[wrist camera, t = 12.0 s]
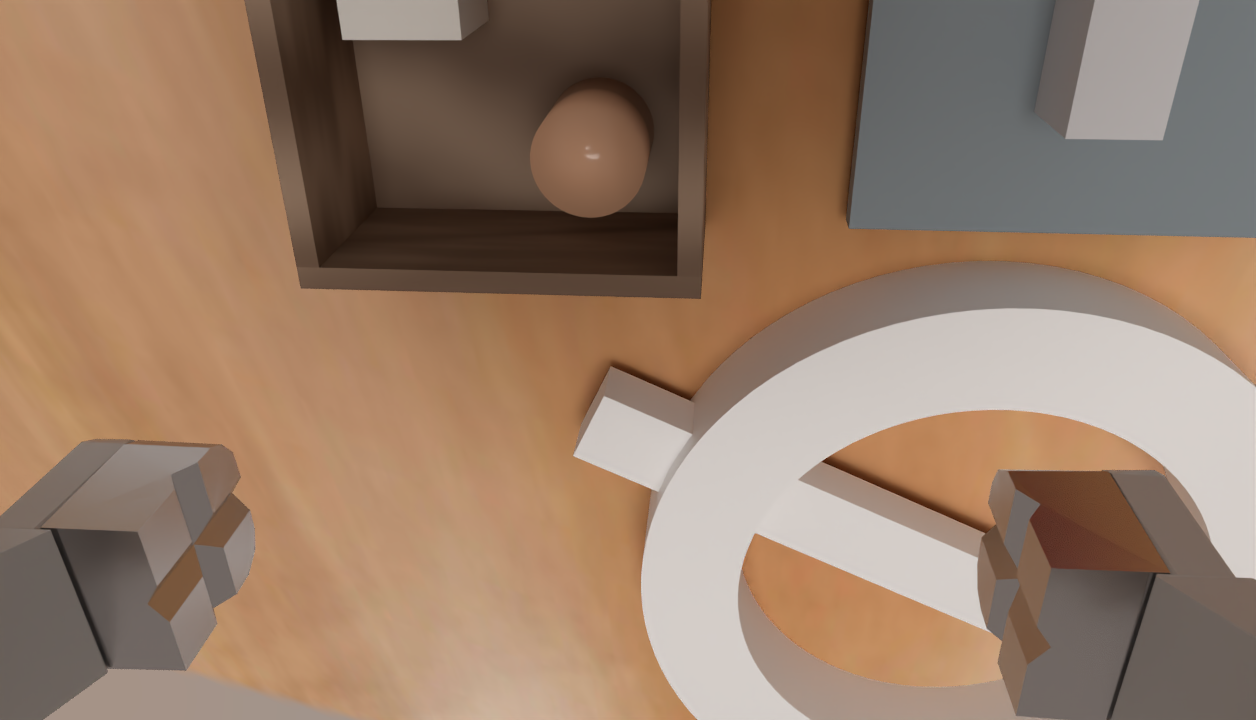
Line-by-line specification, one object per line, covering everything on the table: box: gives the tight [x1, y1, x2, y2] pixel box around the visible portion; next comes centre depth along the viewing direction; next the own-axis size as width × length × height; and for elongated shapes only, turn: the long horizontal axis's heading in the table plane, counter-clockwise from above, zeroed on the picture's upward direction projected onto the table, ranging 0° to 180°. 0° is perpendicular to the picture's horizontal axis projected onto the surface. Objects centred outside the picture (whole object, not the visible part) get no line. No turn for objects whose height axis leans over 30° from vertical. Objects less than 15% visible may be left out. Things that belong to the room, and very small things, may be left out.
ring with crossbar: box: [573, 261, 1256, 720], centre depth 43 cm, size 28×28×5 cm
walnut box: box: [245, 0, 711, 299], centre depth 32 cm, size 14×14×7 cm
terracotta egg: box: [530, 77, 654, 218], centre depth 34 cm, size 4×4×4 cm
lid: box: [846, 0, 1256, 238], centre depth 31 cm, size 15×15×5 cm
